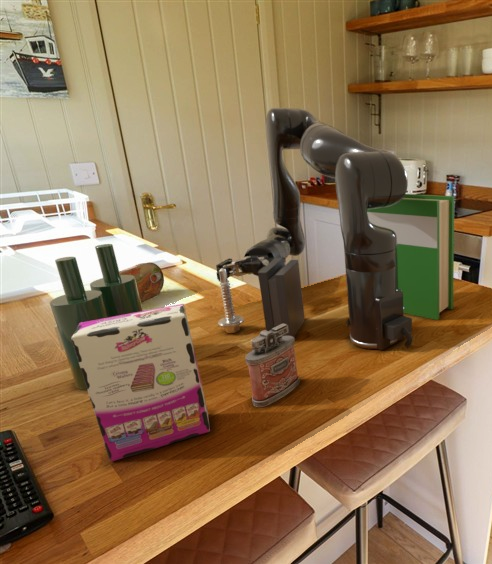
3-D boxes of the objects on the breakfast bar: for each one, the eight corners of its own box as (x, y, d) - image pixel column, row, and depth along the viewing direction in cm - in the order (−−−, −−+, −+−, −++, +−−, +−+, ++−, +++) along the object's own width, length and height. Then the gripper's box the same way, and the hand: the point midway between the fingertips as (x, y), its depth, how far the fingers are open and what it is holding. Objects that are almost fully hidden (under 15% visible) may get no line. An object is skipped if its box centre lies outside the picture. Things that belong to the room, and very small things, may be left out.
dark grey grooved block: (304, 319, 88) (297, 257, 84) (291, 341, 79) (283, 272, 74) (283, 320, 88) (275, 257, 84) (267, 341, 79) (257, 272, 74)
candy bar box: (208, 412, 58) (185, 301, 53) (211, 433, 54) (187, 315, 49) (112, 439, 54) (77, 320, 48) (108, 464, 49) (68, 336, 44)
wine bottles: (124, 346, 78) (97, 241, 72) (159, 346, 78) (135, 240, 72) (63, 390, 65) (22, 265, 58) (105, 390, 65) (69, 264, 58)
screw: (240, 323, 87) (248, 331, 83) (216, 330, 84) (223, 338, 81) (231, 263, 83) (238, 268, 79) (205, 267, 80) (211, 273, 77)
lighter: (263, 409, 59) (253, 345, 55) (247, 402, 60) (236, 339, 57) (304, 382, 65) (297, 322, 62) (289, 376, 67) (281, 318, 63)
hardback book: (453, 308, 92) (454, 196, 84) (437, 320, 86) (437, 201, 78) (385, 294, 101) (381, 192, 93) (367, 304, 95) (361, 197, 87)
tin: (120, 312, 95) (111, 276, 92) (108, 311, 96) (99, 276, 93) (167, 290, 109) (161, 258, 106) (157, 289, 110) (150, 258, 107)
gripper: (235, 242, 102) (203, 260, 87) (293, 240, 102) (271, 258, 86) (239, 271, 105) (209, 294, 89) (296, 270, 104) (275, 293, 89)
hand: (239, 276), depth 88 cm, fingers open, 8 cm apart
